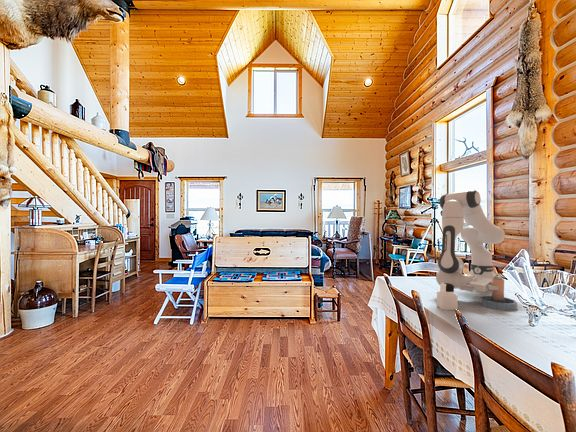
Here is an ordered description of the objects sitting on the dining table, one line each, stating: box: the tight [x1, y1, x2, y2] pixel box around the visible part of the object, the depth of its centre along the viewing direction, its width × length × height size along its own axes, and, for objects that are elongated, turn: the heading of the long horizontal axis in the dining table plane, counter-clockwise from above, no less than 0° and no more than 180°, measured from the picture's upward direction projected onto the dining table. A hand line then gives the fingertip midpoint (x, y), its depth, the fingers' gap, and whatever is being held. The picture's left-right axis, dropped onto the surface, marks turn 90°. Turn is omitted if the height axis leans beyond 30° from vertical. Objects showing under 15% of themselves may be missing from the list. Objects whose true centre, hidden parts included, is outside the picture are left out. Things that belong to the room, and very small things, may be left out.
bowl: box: [479, 295, 518, 311], centre depth 154 cm, size 15×15×3 cm
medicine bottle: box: [436, 283, 459, 311], centre depth 151 cm, size 7×7×12 cm
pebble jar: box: [491, 275, 505, 300], centre depth 154 cm, size 5×5×12 cm
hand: (500, 287), depth 153 cm, fingers closed on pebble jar, 5 cm apart
